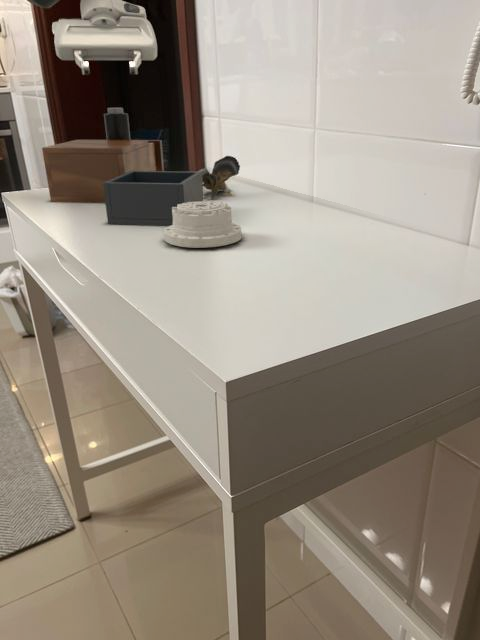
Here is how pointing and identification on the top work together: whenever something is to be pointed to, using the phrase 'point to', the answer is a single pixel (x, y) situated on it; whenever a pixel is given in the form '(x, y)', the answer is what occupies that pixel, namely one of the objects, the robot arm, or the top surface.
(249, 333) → the top surface
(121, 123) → the spray can
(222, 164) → the toy chipmunk
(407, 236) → the top surface
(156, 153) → the drawer
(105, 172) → the cabinet
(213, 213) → the mechanical component
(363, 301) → the top surface
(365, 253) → the top surface
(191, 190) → the bin
